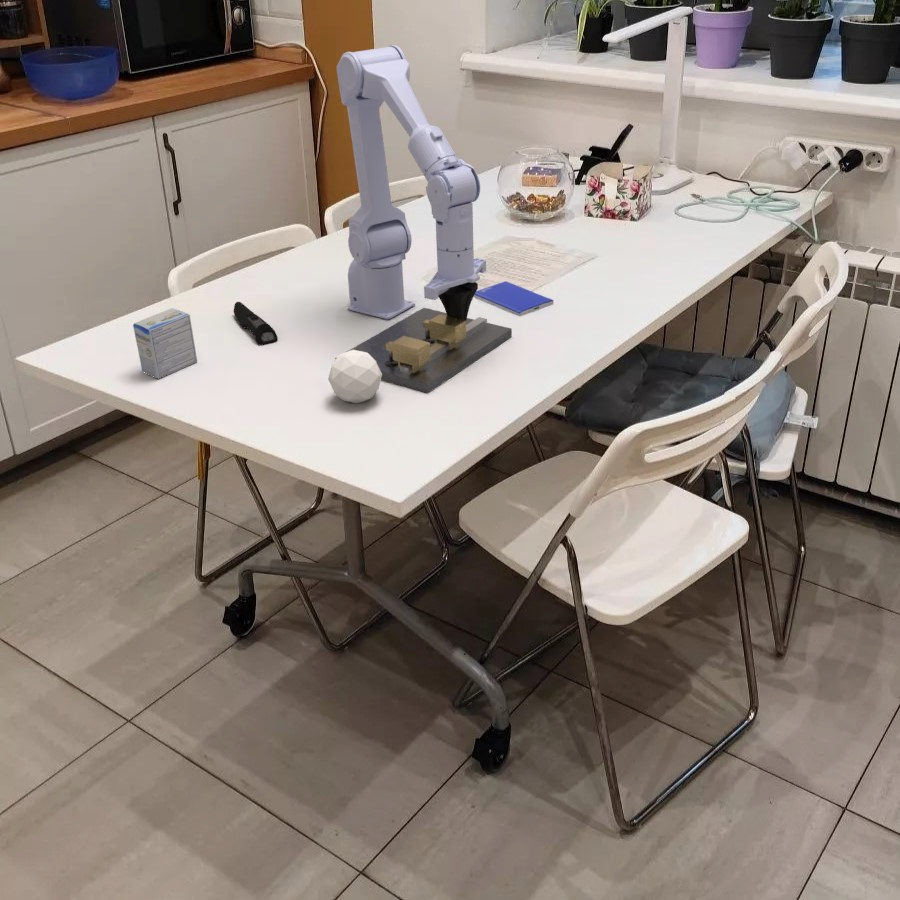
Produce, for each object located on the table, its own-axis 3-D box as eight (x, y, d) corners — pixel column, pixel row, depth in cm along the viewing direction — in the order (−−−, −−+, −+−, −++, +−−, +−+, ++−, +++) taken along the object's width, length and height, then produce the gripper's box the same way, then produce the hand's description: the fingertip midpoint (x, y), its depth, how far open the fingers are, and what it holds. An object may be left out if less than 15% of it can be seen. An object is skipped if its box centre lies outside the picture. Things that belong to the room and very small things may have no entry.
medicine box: (181, 356, 171) (172, 306, 167) (198, 362, 169) (190, 313, 164) (141, 373, 166) (131, 322, 162) (158, 380, 164) (149, 329, 159)
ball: (344, 416, 157) (312, 373, 155) (384, 384, 159) (352, 342, 158) (357, 412, 150) (324, 368, 148) (399, 379, 152) (366, 335, 151)
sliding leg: (420, 341, 168) (418, 318, 166) (430, 335, 170) (429, 311, 168) (455, 350, 165) (455, 327, 163) (466, 344, 167) (465, 320, 165)
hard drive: (473, 291, 189) (519, 311, 180) (506, 280, 193) (553, 298, 185) (473, 300, 190) (519, 319, 181) (506, 288, 194) (553, 306, 185)
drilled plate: (336, 366, 166) (332, 332, 163) (424, 315, 182) (422, 283, 179) (427, 393, 156) (426, 356, 153) (511, 336, 173) (511, 303, 170)
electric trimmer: (250, 314, 187) (247, 298, 185) (280, 343, 175) (277, 325, 174) (230, 319, 185) (227, 302, 184) (259, 347, 174) (256, 330, 172)
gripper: (449, 264, 154) (452, 348, 161) (501, 236, 164) (502, 316, 171) (411, 256, 158) (415, 338, 164) (464, 229, 168) (466, 308, 175)
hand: (457, 326), depth 168 cm, fingers closed
